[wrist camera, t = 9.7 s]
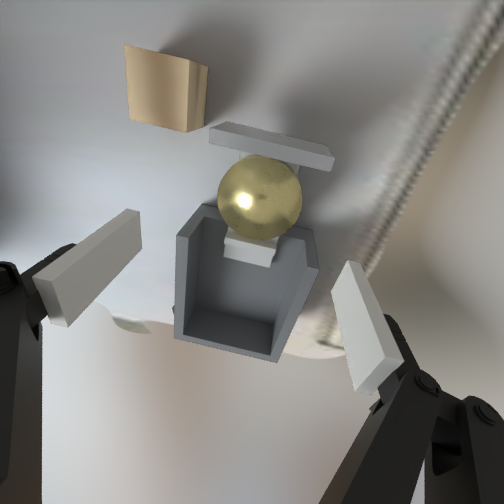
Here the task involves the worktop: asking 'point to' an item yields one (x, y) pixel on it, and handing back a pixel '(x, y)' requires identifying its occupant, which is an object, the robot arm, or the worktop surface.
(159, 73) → the pedestal
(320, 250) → the worktop surface
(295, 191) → the disc
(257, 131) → the grey i-beam
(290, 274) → the box
